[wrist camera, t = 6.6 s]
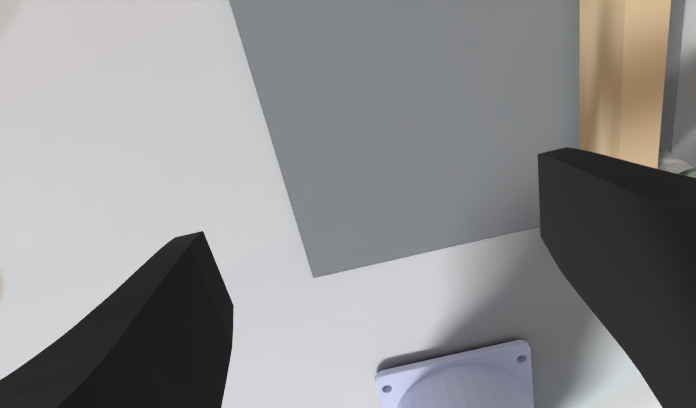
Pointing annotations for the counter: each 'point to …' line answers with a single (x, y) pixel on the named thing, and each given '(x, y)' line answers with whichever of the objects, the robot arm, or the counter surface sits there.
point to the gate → (622, 77)
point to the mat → (418, 115)
